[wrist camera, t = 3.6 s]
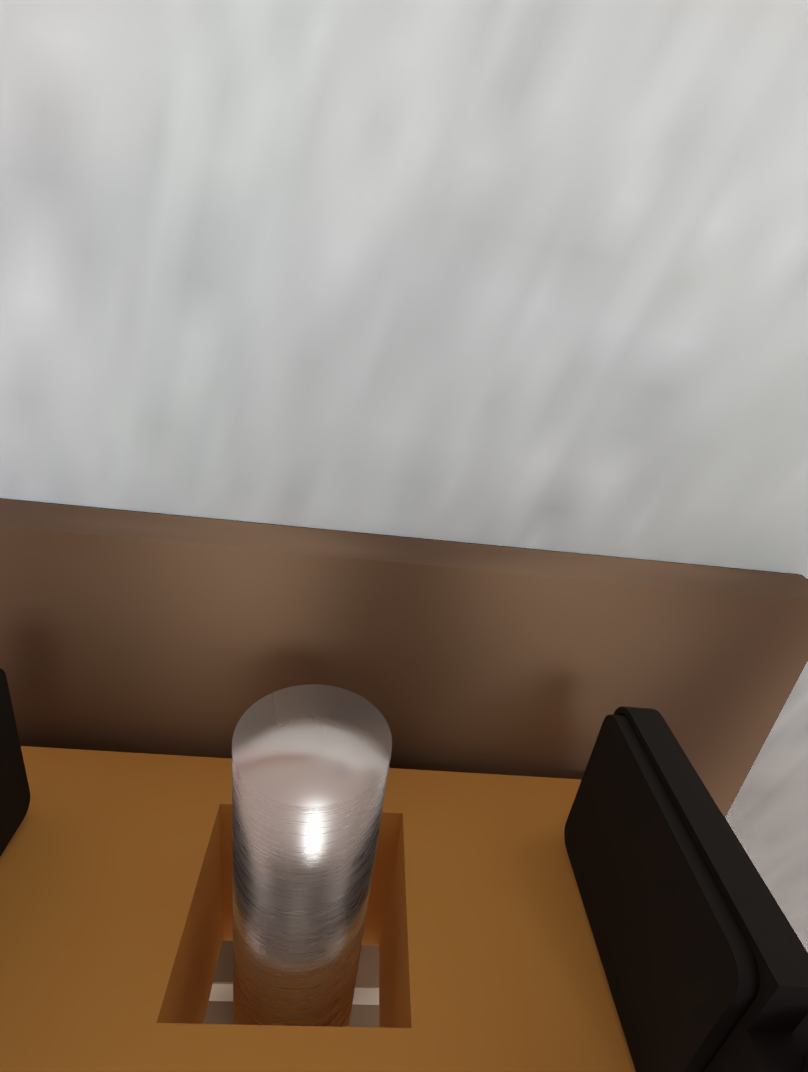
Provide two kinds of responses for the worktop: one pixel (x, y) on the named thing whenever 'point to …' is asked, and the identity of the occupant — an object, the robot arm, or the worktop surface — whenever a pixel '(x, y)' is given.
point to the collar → (207, 919)
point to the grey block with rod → (304, 851)
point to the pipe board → (382, 648)
